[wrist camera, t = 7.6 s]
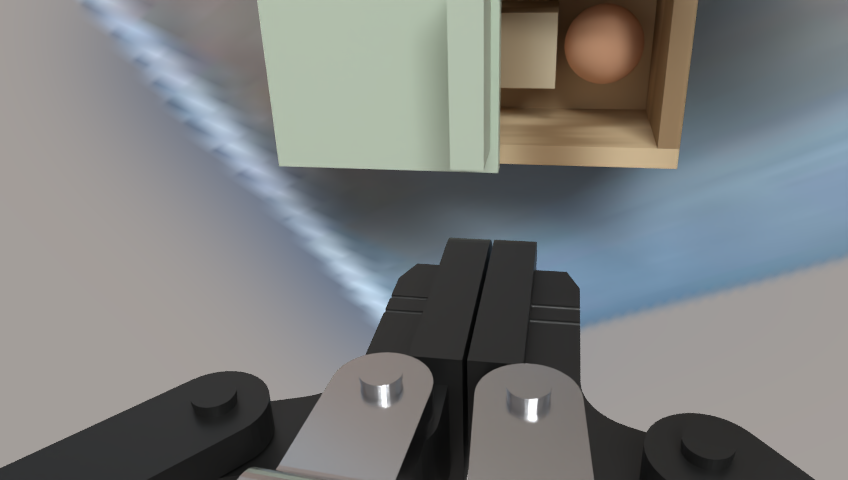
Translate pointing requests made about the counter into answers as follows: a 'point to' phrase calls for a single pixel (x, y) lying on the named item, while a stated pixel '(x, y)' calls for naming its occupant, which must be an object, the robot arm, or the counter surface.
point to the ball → (604, 43)
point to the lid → (385, 83)
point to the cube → (529, 44)
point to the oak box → (607, 99)
